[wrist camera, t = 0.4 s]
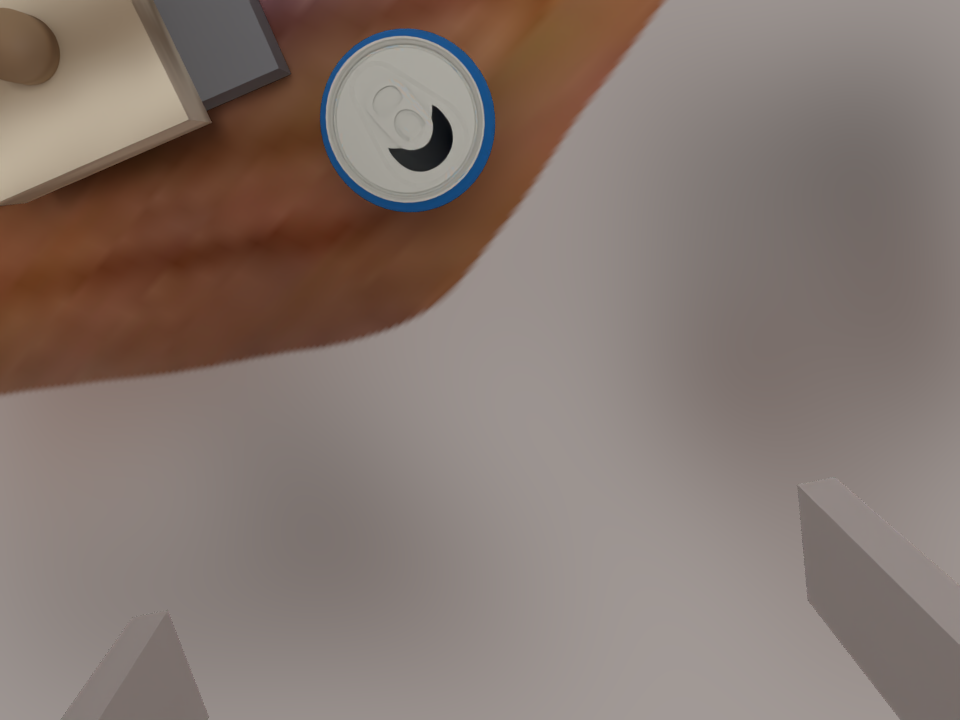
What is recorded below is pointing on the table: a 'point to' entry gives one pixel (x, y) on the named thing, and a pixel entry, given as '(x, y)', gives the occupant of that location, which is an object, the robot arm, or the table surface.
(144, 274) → the table surface
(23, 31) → the lid
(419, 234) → the table surface
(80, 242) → the table surface
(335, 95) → the beverage can
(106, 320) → the table surface
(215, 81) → the gray rectangular block
